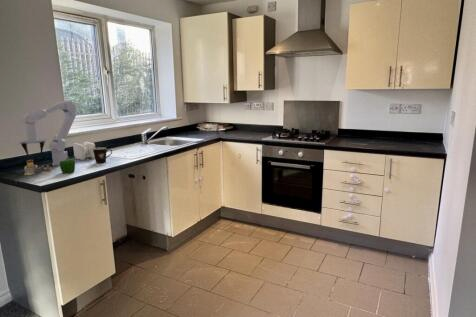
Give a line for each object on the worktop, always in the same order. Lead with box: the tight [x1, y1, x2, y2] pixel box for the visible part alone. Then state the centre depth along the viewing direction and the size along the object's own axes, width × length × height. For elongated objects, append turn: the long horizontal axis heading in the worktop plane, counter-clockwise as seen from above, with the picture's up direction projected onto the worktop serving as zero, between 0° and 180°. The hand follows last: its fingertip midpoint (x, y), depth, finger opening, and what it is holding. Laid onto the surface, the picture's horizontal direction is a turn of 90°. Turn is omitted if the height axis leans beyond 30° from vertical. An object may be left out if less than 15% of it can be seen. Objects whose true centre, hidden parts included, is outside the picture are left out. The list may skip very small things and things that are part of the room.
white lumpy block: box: [72, 141, 96, 161], centre depth 237 cm, size 15×11×12 cm
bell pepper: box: [59, 156, 76, 175], centre depth 196 cm, size 8×8×10 cm
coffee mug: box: [93, 146, 113, 165], centre depth 224 cm, size 12×9×10 cm
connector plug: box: [26, 159, 35, 168], centre depth 199 cm, size 3×3×7 cm
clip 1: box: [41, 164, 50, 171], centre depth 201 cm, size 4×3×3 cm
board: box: [23, 166, 53, 176], centre depth 201 cm, size 14×15×1 cm
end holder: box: [24, 164, 38, 174], centre depth 199 cm, size 6×6×3 cm
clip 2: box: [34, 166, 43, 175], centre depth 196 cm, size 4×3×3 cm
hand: (34, 154), depth 206 cm, fingers open, 7 cm apart
